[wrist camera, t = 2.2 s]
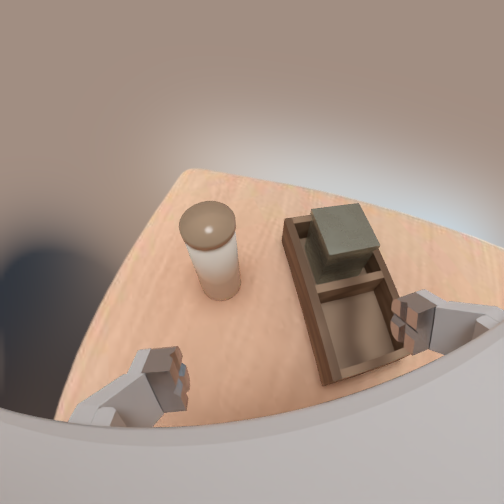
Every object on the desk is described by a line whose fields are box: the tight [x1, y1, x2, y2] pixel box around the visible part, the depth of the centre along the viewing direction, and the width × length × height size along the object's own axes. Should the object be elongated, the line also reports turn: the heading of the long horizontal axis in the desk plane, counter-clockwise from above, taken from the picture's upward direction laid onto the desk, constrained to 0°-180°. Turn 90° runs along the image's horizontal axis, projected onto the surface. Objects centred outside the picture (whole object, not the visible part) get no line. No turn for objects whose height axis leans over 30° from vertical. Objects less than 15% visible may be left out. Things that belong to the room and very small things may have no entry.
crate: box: [282, 215, 410, 386], centre depth 33 cm, size 11×21×5 cm, turn 11°
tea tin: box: [304, 203, 380, 285], centre depth 34 cm, size 6×6×8 cm
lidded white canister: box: [179, 201, 241, 301], centre depth 31 cm, size 5×5×13 cm
